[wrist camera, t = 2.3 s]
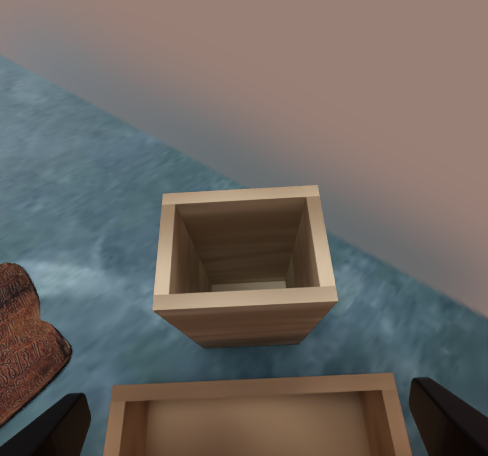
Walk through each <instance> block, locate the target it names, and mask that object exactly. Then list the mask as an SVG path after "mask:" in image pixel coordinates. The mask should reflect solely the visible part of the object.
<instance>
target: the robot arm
mask: <svg viewBox="0 0 488 456" xmlns="http://www.w3.org/2000/svg"><path fill="white" fill-rule="evenodd" d="M409 407H410V410H411V413H412V416H413V418H414V420H415V423H416V425H417V428H418V430H419V433H420V435H421V438H422V440H423V443H424V445H425V447H426V450H427V452H428V455H429V456H488V417H486V416H485V415H483V414H482V413H481V412H479V411H478V410H476V409H475V408H473V407H472V406H470V405H469V404H467V403H466V402H464V401H463V400H462V399H460V398H459V397H457V396H456V395H454V394H453V393H451V392H450V391H448V390H447V389H445V388H444V387H443V386H441V385H440V384H438V383H437V382H435V381H434V380H432V379H431V378H428V377H419V378H413V379H412V382H411V388H410V395H409ZM90 422H91V413H90V410H89V406H88V402H87V399H86V396H85V394H84V393H70V394H67V395H66V396H64V397H63V398H62V399H60V400H59V401H58V402H57V403H55V404H54V405H53V406H52V407H50V408H49V409H48V410H46V411H45V412H44V413H43V414H41V415H40V416H39V417H38V418H36V419H35V420H34V421H32V422H31V423H30V424H29V425H27V426H26V427H25V428H24V429H22V430H21V431H20V432H18V433H17V434H16V435H15V436H13V437H12V438H11V439H10V440H8V441H7V442H6V443H4V444H3V445H2V446H1V447H0V456H80V453H81V450H82V447H83V444H84V441H85V438H86V435H87V432H88V429H89V426H90Z"/></svg>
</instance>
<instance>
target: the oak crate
mask: <svg viewBox="0 0 488 456" xmlns="http://www.w3.org/2000/svg"><path fill="white" fill-rule="evenodd" d="M103 456H412V452H411V448H410V444H409V439H408V435H407V431H406V427H405V422H404V418H403V414H402V410H401V405H400V401H399V397H398V392H397V388H396V384H395V380H394V375H393V373H376V374H354V375H332V376H310V377H288V378H266V379H244V380H222V381H200V382H178V383H156V384H134V385H113V388H112V395H111V403H110V410H109V417H108V425H107V432H106V439H105V447H104V454H103Z"/></svg>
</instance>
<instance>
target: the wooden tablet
mask: <svg viewBox="0 0 488 456" xmlns="http://www.w3.org/2000/svg"><path fill="white" fill-rule="evenodd" d="M70 358H71V348H70V346H69V344H68V342H67V341H66V340H65V339H64V337H63V336H62V335H61V334H60V333H59V331H58V330H57V329H56V328H55V327H54V326H52V324H50V323H48V322H45V321H42V320H41V319H40V301H39V297H38V294H37V292H36V289H35V288H34V285H33V283H32V282H31V280H30V278H29V277H28V275H27V274H26V272H25V271H24V270H23V269H22V268H21V266H19V265H17V264H15V263H13V264H11V263H3V264H1V265H0V426H1V425H2V424H4V423H5V422H7V421H8V420H9V419H10V417H11V416H12V415H14V414H15V413H16V412H17V411H19V410H20V409H21V408H22V407H23V406H24V405H26V404H27V403H28V402H29V401H30V400H31V399H32V398H33V397H35V396H36V395H37V394H38V393H39V392H40V391H41V390H42V389H43V388H44V387H45V386H46V385H47V384H48V383H49V382H50V381H51V380H52V379H53V378H54V376H55V375H56V374H58V373H59V371H60V370H61V369H62V368H63V367H64V365H65V364H66V363H67V362H68V361H69V359H70Z"/></svg>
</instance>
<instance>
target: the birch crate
mask: <svg viewBox="0 0 488 456" xmlns="http://www.w3.org/2000/svg"><path fill="white" fill-rule="evenodd" d="M337 302H338V297H337V291H336V286H335V280H334V275H333V269H332V263H331V258H330V252H329V247H328V241H327V235H326V230H325V225H324V218H323V213H322V208H321V202H320V196H319V191H318V186H317V185H311V186H293V187H276V188H258V189H240V190H222V191H204V192H186V193H168V194H163V201H162V212H161V223H160V233H159V244H158V255H157V266H156V276H155V287H154V298H153V309H152V310H153V311H154V312H155V313H157V314H158V315H159V316H161V317H162V318H163V319H165V320H166V321H168V322H169V323H170V324H172V325H173V326H174V327H176V328H177V329H178V330H180V331H181V332H182V333H184V334H185V335H187V336H188V337H189V338H191V339H192V340H193V341H195V342H196V343H197V344H199V345H200V346H201V347H203V348H204V349H206V348H227V347H248V346H269V345H290V344H299V343H300V342H301V341H302V340H303V339H304V338H305V337H306V336H307V335H308V333H309V332H310V331H311V330H312V329H313V328H314V327H315V326H316V325H317V324H318V323H319V321H320V320H321V319H322V318H323V317H324V316H325V315H326V314H327V313H328V312H329V311H330V309H331V308H332V307H333V306H334V305H335V304H336V303H337Z"/></svg>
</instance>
